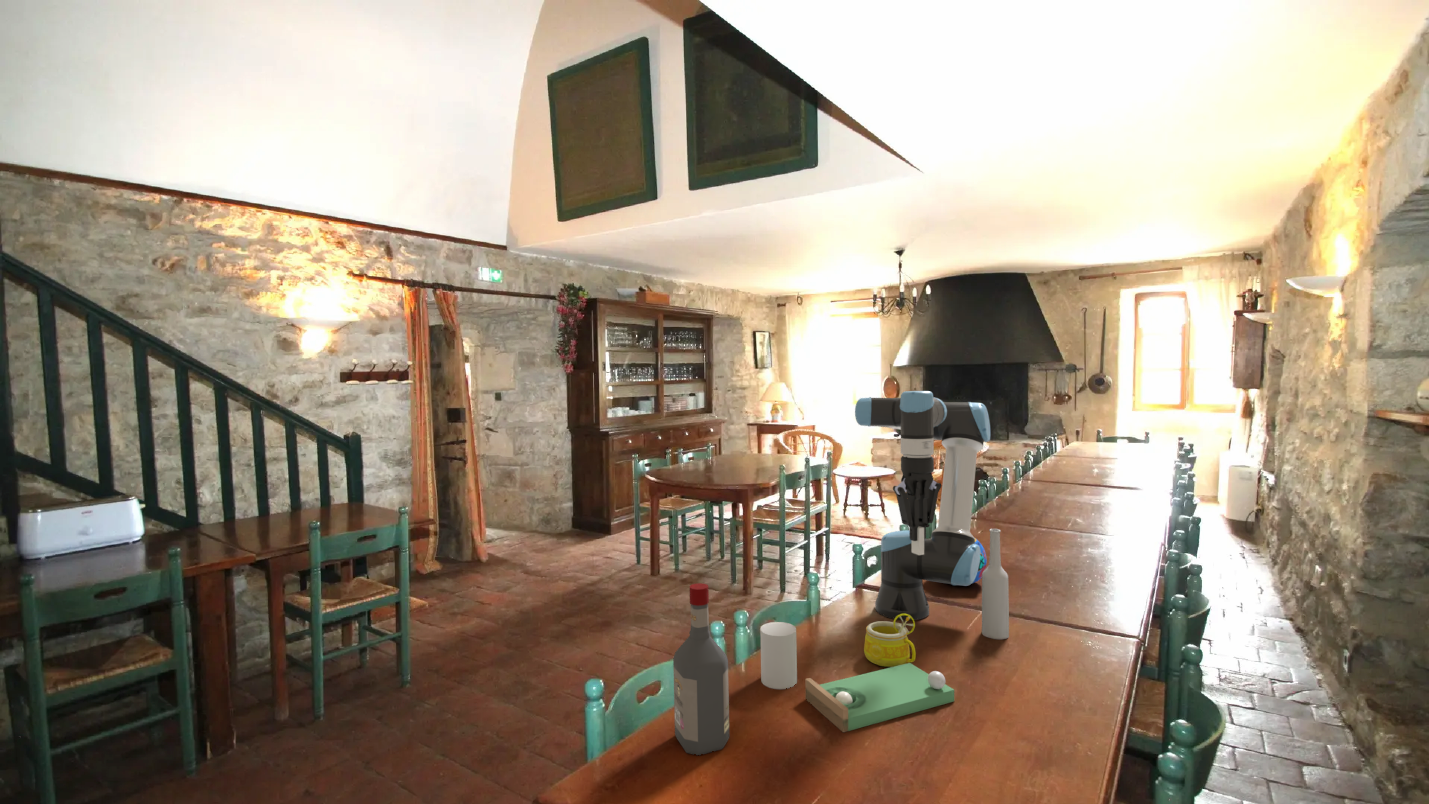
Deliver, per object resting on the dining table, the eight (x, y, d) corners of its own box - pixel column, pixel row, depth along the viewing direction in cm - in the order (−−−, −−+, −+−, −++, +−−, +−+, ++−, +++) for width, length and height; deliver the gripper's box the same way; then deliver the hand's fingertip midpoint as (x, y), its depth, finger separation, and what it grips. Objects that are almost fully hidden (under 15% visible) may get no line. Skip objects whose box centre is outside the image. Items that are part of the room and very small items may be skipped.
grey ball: (923, 686, 136) (923, 670, 136) (937, 683, 138) (937, 666, 137) (935, 694, 133) (935, 677, 133) (949, 690, 134) (949, 673, 134)
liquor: (688, 759, 116) (685, 597, 115) (671, 734, 124) (668, 582, 123) (733, 747, 120) (730, 589, 118) (714, 723, 128) (711, 576, 127)
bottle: (1002, 641, 164) (1001, 534, 163) (977, 634, 169) (976, 529, 168) (1013, 634, 168) (1013, 529, 167) (988, 627, 173) (988, 525, 172)
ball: (847, 700, 135) (840, 715, 132) (835, 688, 135) (828, 703, 132) (858, 698, 132) (852, 713, 130) (846, 686, 132) (839, 701, 130)
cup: (800, 674, 148) (799, 624, 147) (792, 691, 140) (792, 637, 140) (766, 670, 151) (765, 620, 150) (757, 686, 143) (756, 633, 142)
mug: (855, 661, 154) (854, 612, 154) (877, 647, 162) (877, 600, 162) (904, 677, 146) (904, 626, 145) (925, 661, 154) (925, 612, 153)
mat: (805, 699, 137) (805, 678, 136) (909, 673, 148) (909, 654, 147) (843, 732, 124) (842, 709, 124) (954, 701, 135) (954, 680, 134)
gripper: (905, 459, 146) (906, 561, 147) (949, 455, 151) (950, 553, 152) (884, 455, 153) (885, 553, 153) (927, 452, 158) (928, 546, 159)
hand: (917, 553), depth 153 cm, fingers closed
